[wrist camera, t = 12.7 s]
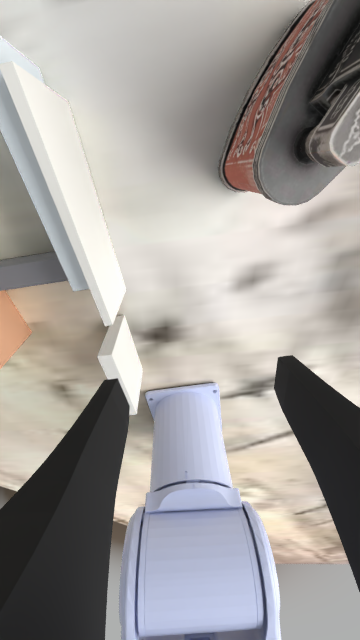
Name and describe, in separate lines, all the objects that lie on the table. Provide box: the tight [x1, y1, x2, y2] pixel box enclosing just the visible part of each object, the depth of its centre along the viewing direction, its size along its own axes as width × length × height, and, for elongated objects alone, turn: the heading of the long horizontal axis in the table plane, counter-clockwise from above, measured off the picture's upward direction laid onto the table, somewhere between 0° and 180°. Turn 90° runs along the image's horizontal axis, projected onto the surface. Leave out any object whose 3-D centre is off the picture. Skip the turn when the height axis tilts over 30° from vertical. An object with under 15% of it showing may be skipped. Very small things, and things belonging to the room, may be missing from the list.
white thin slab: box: [0, 61, 143, 415], centre depth 15 cm, size 20×2×5 cm, turn 8°
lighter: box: [218, 0, 360, 205], centre depth 8 cm, size 8×3×10 cm, turn 151°
